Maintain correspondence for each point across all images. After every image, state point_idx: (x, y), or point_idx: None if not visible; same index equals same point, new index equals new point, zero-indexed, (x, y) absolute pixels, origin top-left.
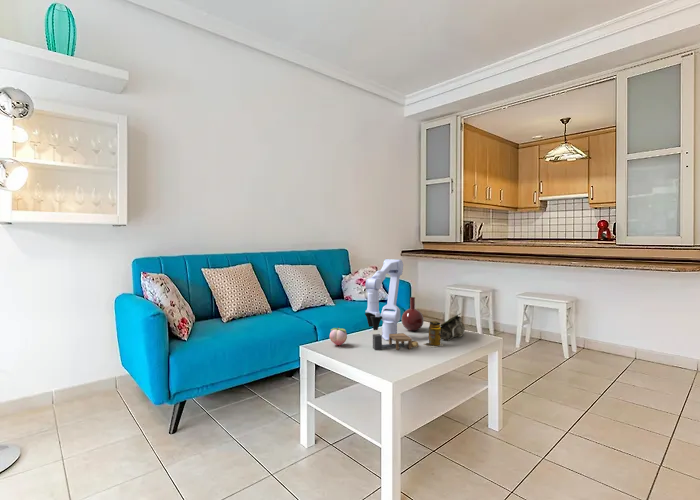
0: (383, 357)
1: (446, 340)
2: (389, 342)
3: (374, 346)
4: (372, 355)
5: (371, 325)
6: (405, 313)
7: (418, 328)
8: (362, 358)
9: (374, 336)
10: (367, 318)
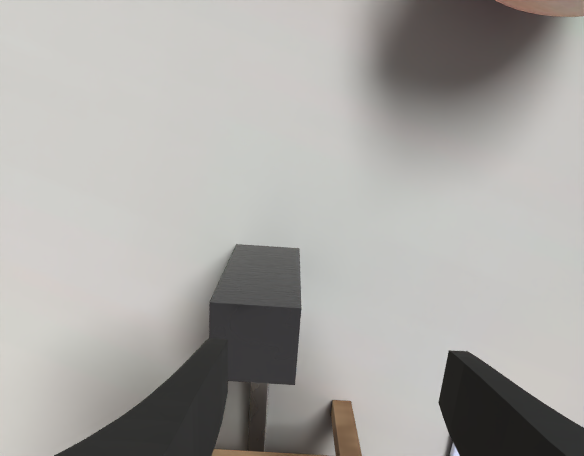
0: (25, 233)
1: None
2: (341, 414)
3: (246, 255)
4: (94, 167)
5: (450, 396)
6: None
7: None
8: (22, 44)
9: (231, 299)
10: (556, 444)
